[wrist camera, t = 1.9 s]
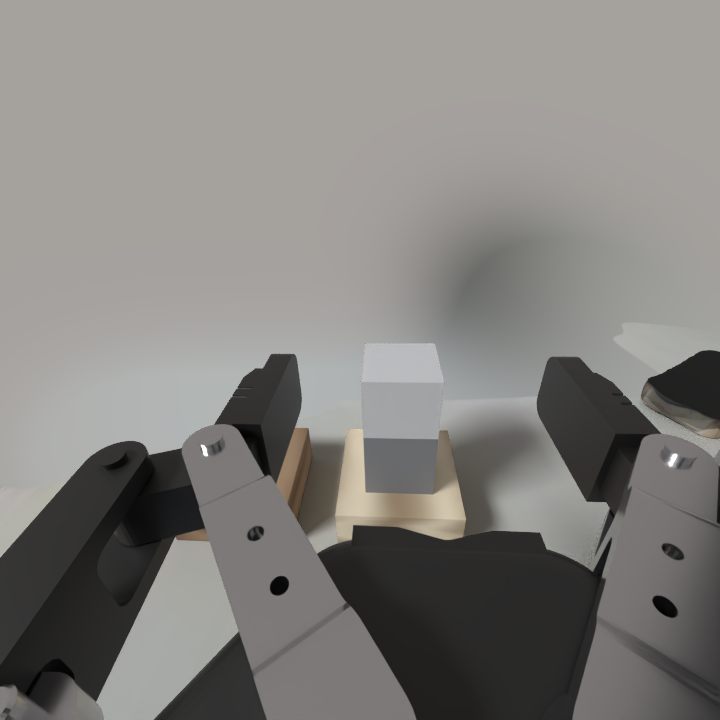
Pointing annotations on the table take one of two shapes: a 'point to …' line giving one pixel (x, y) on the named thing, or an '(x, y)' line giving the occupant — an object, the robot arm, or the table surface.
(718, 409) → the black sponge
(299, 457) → the walnut stand
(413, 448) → the block
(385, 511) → the birch stand
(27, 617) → the robot arm
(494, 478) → the table surface
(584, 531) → the table surface
